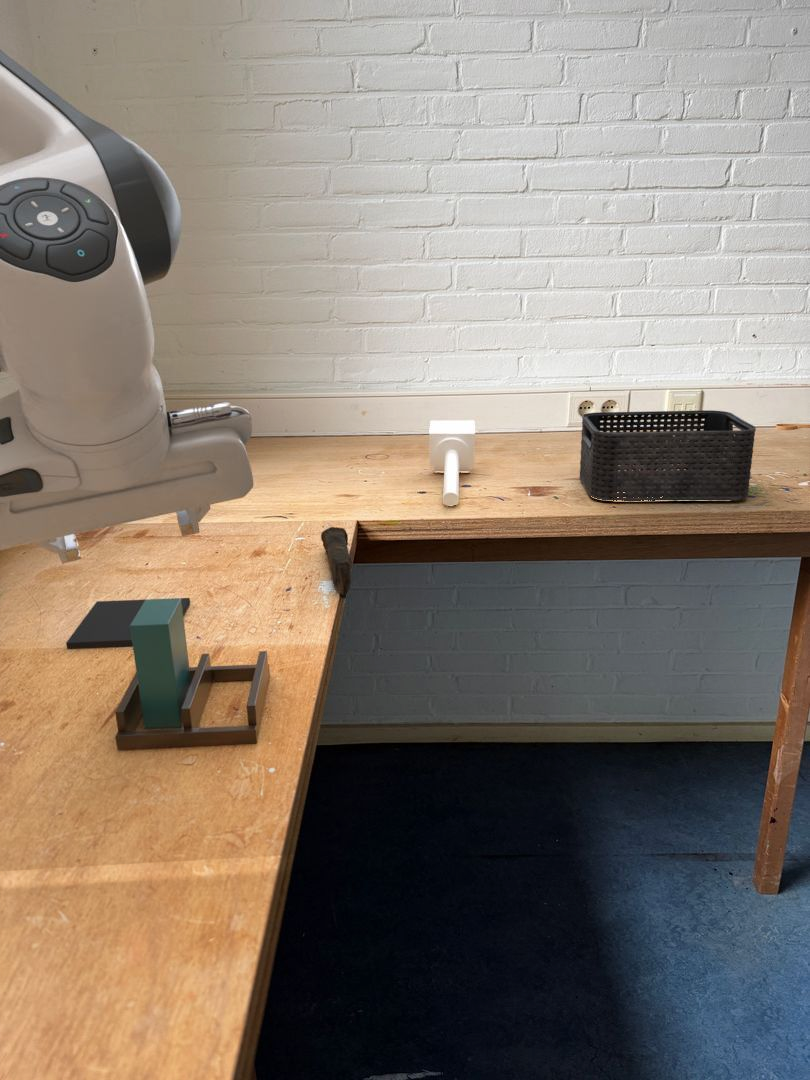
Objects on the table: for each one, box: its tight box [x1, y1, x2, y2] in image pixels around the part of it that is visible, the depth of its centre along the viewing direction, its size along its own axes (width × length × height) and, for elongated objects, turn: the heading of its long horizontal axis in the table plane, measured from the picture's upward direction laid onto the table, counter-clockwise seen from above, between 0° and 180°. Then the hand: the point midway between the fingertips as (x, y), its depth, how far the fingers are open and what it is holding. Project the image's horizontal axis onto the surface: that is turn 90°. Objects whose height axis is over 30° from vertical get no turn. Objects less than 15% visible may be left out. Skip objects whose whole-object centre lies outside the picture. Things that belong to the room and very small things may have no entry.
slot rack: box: [114, 650, 271, 751], centre depth 79 cm, size 13×13×4 cm
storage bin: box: [579, 409, 757, 501], centre depth 150 cm, size 29×19×13 cm
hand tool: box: [320, 526, 352, 596], centre depth 114 cm, size 19×4×5 cm, turn 6°
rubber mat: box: [65, 597, 191, 650], centre depth 99 cm, size 12×12×1 cm
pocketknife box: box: [130, 597, 191, 730], centre depth 78 cm, size 4×6×11 cm, turn 4°
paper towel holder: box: [428, 420, 476, 506], centre depth 157 cm, size 9×9×32 cm
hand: (131, 541), depth 66 cm, fingers open, 8 cm apart
